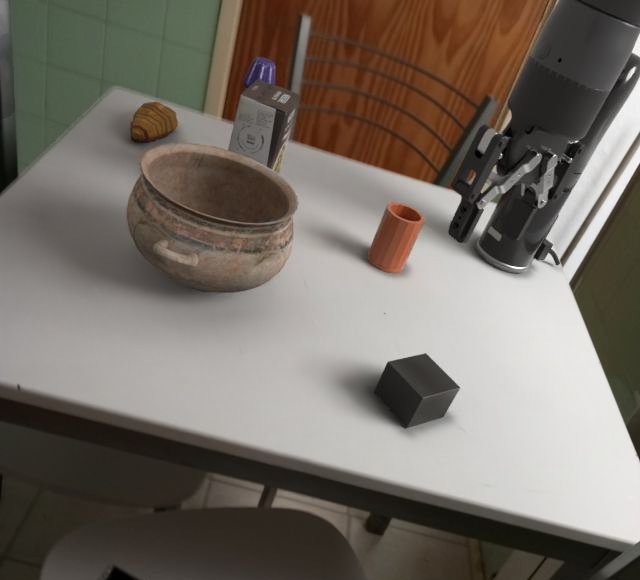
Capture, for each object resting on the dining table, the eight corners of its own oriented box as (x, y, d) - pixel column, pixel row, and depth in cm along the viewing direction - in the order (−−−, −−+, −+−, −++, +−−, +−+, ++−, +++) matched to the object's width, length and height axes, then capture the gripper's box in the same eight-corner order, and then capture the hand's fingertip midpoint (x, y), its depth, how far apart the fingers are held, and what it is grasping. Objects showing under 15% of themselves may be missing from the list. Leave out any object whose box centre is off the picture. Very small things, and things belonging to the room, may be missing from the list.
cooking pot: (178, 209, 92) (194, 119, 84) (305, 267, 92) (333, 181, 84) (71, 286, 73) (79, 179, 65) (229, 360, 73) (257, 261, 65)
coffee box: (256, 227, 95) (287, 112, 85) (212, 211, 95) (238, 92, 85) (272, 203, 102) (302, 94, 92) (231, 187, 102) (257, 76, 91)
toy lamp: (223, 162, 107) (248, 50, 97) (252, 169, 109) (280, 59, 98) (223, 175, 104) (249, 60, 93) (253, 183, 105) (282, 70, 95)
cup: (387, 250, 103) (407, 201, 98) (410, 271, 100) (432, 222, 95) (359, 252, 99) (379, 202, 94) (382, 274, 97) (404, 224, 92)
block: (410, 382, 80) (426, 352, 77) (443, 417, 77) (460, 387, 74) (373, 392, 76) (387, 361, 73) (406, 428, 73) (422, 398, 70)
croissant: (155, 155, 102) (160, 122, 99) (113, 137, 102) (116, 103, 99) (190, 130, 112) (195, 99, 109) (152, 114, 112) (156, 83, 109)
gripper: (557, 77, 52) (463, 262, 62) (647, 95, 60) (551, 254, 71) (490, 38, 55) (411, 219, 66) (584, 60, 64) (501, 216, 74)
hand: (484, 237), depth 68 cm, fingers open, 8 cm apart
